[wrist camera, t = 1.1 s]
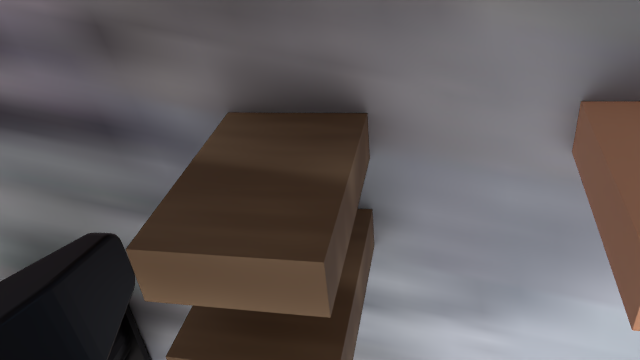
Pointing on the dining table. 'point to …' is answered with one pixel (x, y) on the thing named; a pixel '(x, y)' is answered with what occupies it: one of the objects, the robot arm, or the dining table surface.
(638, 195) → the domino
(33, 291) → the robot arm
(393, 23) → the dining table surface
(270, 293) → the domino
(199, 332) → the domino
